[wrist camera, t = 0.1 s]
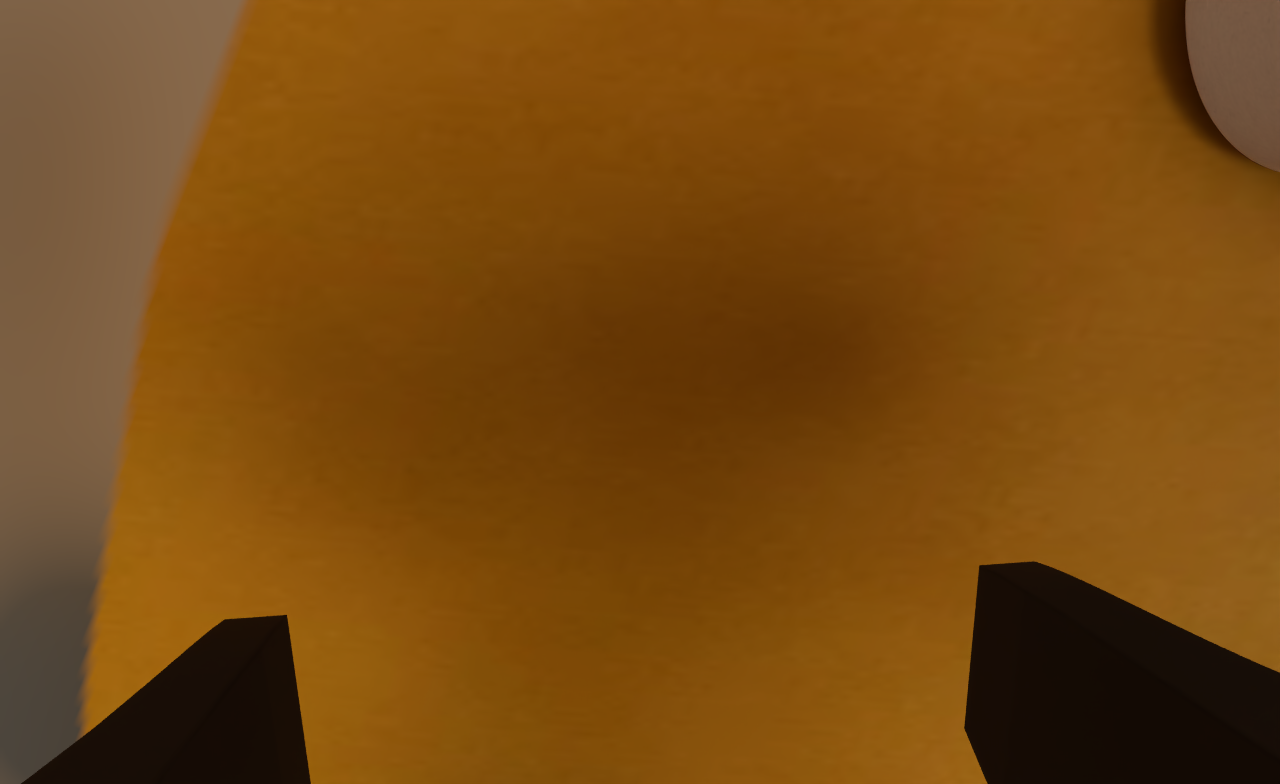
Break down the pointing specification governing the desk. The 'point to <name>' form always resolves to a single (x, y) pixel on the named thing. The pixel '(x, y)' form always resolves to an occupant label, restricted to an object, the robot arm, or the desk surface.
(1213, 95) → the coffee cup
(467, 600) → the desk surface
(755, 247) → the desk surface
